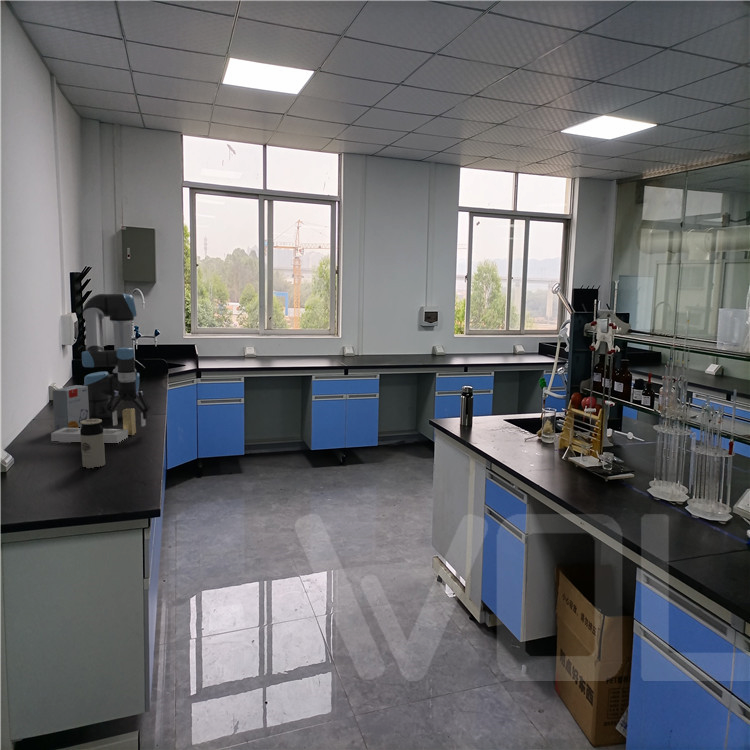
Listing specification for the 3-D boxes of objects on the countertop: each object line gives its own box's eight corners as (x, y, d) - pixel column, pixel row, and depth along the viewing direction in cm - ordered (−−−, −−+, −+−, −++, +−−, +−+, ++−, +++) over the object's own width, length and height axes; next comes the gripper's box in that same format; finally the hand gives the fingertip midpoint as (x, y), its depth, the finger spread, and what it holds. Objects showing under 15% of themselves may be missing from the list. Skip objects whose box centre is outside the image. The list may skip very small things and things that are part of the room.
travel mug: (97, 461, 228) (94, 417, 225) (109, 464, 224) (106, 420, 221) (78, 466, 221) (75, 421, 218) (90, 470, 217) (87, 424, 215)
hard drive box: (68, 432, 271) (65, 391, 267) (54, 431, 272) (51, 390, 269) (90, 424, 286) (88, 385, 283) (77, 423, 287) (74, 384, 284)
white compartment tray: (64, 436, 264) (64, 427, 263) (128, 437, 262) (127, 429, 262) (51, 441, 254) (50, 433, 253) (117, 443, 253) (116, 435, 252)
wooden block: (127, 433, 271) (126, 408, 269) (136, 433, 270) (134, 408, 268) (123, 435, 267) (122, 410, 265) (132, 435, 266) (130, 410, 265)
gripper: (96, 381, 261) (99, 426, 265) (149, 382, 260) (151, 428, 263) (105, 379, 269) (107, 422, 272) (156, 380, 268) (158, 424, 271)
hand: (129, 425), depth 268 cm, fingers open, 13 cm apart
